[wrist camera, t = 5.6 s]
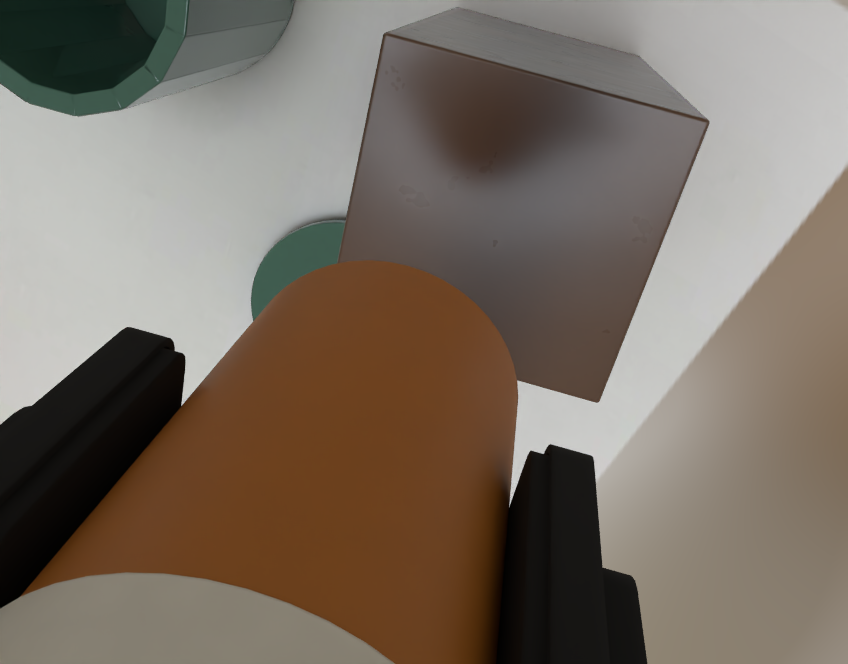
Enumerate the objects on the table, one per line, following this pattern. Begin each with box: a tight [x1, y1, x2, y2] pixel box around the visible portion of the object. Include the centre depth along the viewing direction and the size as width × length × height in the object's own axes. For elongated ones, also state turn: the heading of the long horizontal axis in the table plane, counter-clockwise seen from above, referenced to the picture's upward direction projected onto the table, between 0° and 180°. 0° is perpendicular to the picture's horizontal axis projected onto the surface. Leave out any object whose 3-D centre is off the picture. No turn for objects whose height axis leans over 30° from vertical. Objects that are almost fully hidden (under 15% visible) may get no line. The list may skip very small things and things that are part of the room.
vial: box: [0, 260, 518, 664], centre depth 9 cm, size 5×5×8 cm
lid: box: [251, 220, 346, 321], centre depth 42 cm, size 11×11×6 cm
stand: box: [337, 7, 709, 403], centre depth 31 cm, size 9×9×18 cm
